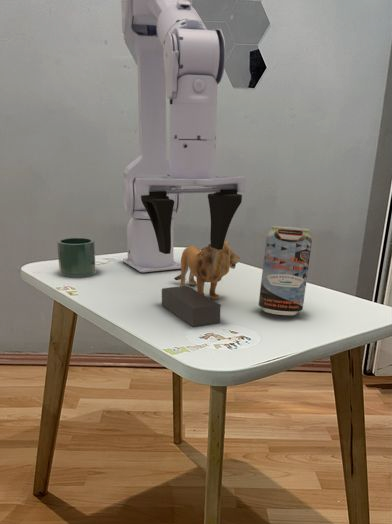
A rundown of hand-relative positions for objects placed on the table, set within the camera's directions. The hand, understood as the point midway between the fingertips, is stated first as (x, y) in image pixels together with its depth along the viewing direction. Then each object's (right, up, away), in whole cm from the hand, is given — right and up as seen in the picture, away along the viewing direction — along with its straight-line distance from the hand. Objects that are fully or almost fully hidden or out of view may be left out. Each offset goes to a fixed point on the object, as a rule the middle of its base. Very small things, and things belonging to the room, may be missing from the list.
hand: (191, 250), depth 74 cm
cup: (-20, 0, +23) cm, 30 cm away
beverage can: (+13, -8, +4) cm, 16 cm away
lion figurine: (+2, -5, +12) cm, 13 cm away
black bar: (0, -8, +3) cm, 9 cm away
